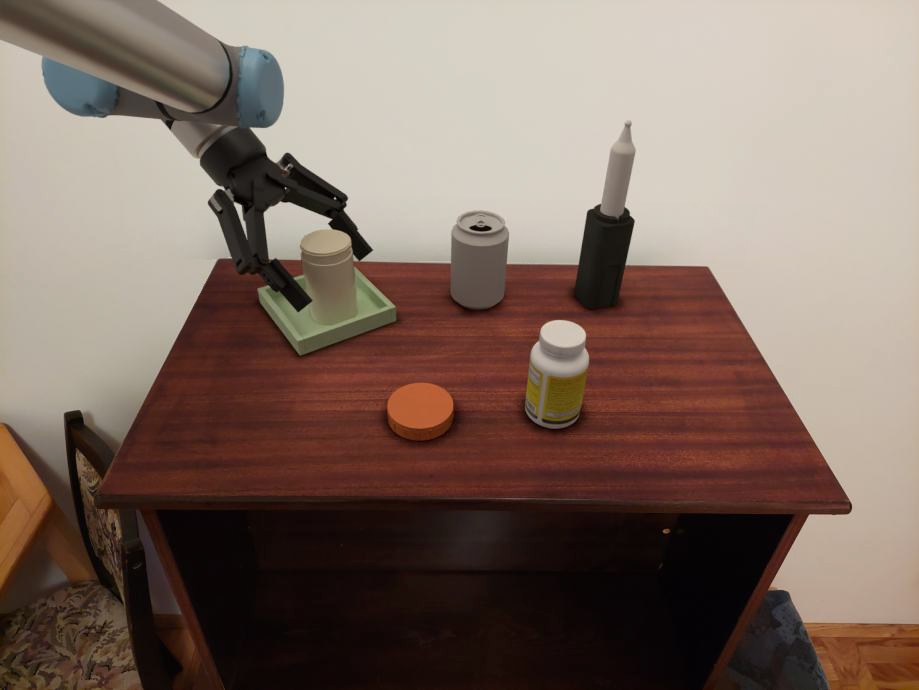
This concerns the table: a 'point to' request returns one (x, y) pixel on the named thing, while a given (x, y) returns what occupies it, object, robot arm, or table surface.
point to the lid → (420, 411)
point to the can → (479, 259)
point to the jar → (329, 276)
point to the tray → (315, 336)
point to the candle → (607, 232)
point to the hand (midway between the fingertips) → (337, 280)
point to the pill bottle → (557, 375)
